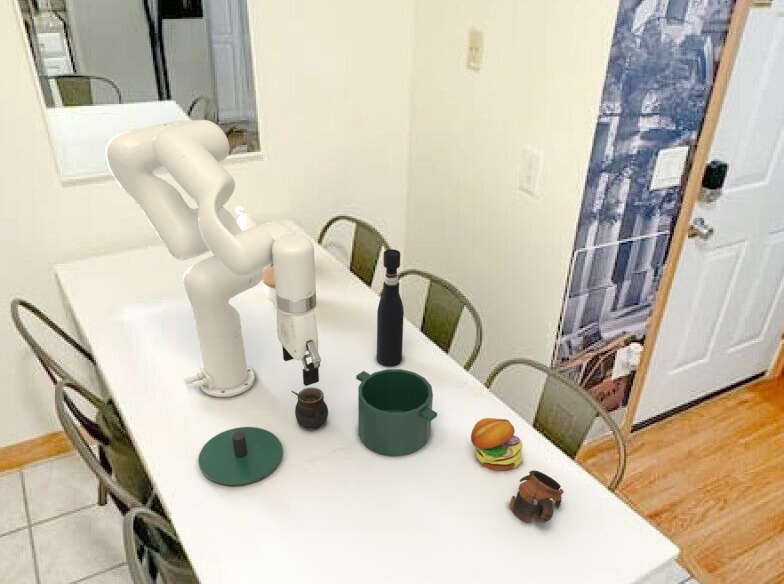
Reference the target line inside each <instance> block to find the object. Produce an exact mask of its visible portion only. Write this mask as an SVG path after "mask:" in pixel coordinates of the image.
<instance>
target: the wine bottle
mask: <svg viewBox="0 0 784 584" xmlns="http://www.w3.org/2000/svg"><path fill="white" fill-rule="evenodd" d="M382 264H383V267H384V268H385V274H384V277H383V278H384V280H383V282H382V283H383V284H382V285H383V286H382V290H383V291H382V294H381V296H380V299H379V302H378V306H377V311H376V312H377V313H376V314H377V315H376V361H377V363H378V364H379V365H381V366H383V367H388V368H389V367H396V366H399V365H400V364H401V363H402V361H403V342H404V341H403V340H404V339H403V338H404V315H405V313H404V312H405V311H404V304H403V300H402V297H401V294H400V282H399V279H400V277H399V275H398V269H399V268H400V267H401V252H400V250H397V249H394V248H392V249H386V250H384V251H383V263H382Z"/></svg>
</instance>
